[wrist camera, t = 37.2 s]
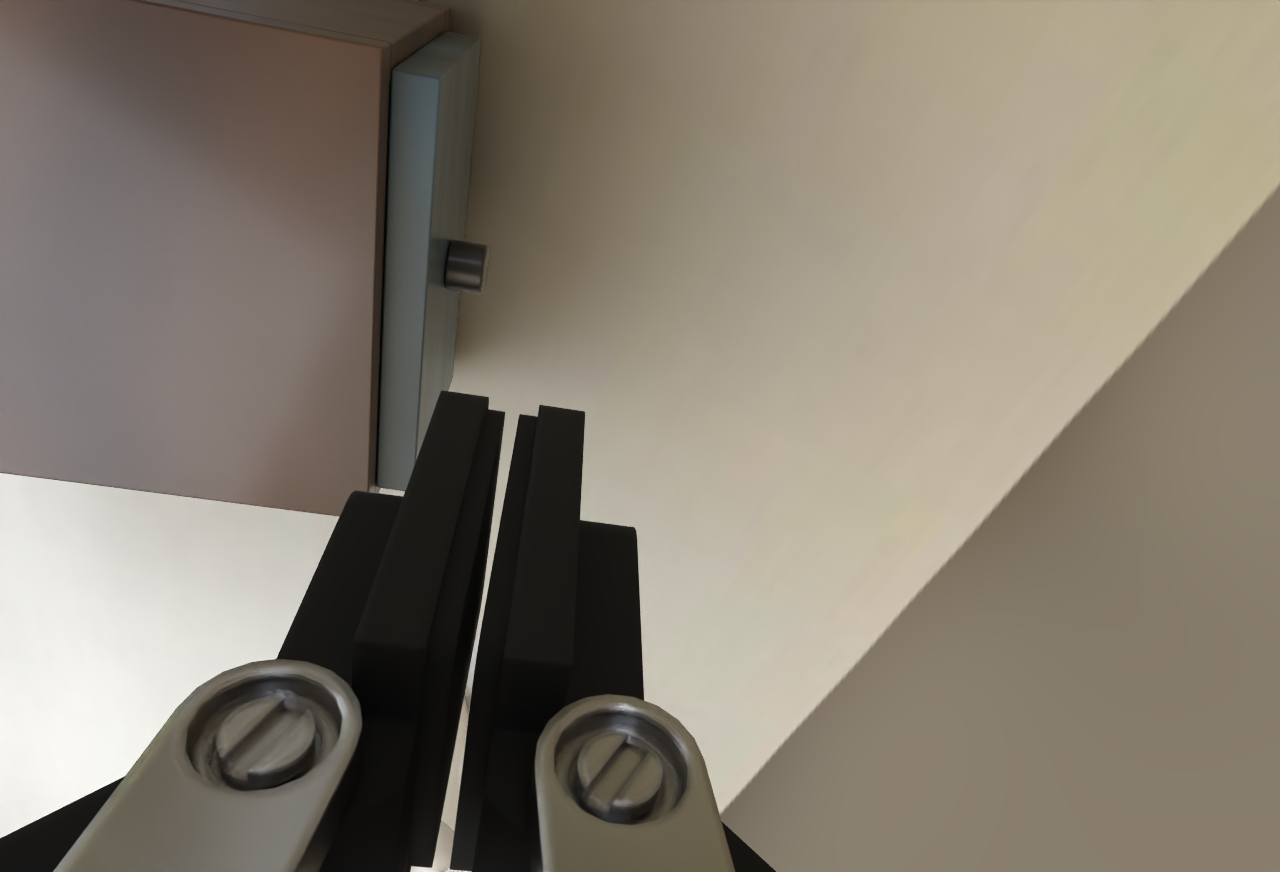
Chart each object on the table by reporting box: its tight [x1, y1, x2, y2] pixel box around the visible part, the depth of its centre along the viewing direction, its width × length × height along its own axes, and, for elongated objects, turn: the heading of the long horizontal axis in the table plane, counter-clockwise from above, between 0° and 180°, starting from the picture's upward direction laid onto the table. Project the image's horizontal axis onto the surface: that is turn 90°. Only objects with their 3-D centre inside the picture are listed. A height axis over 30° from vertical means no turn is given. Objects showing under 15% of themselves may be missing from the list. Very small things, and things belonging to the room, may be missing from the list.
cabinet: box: [0, 0, 450, 516], centre depth 27 cm, size 14×14×10 cm
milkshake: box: [410, 698, 468, 872], centre depth 41 cm, size 5×5×10 cm
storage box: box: [376, 31, 489, 491], centre depth 27 cm, size 14×13×8 cm
